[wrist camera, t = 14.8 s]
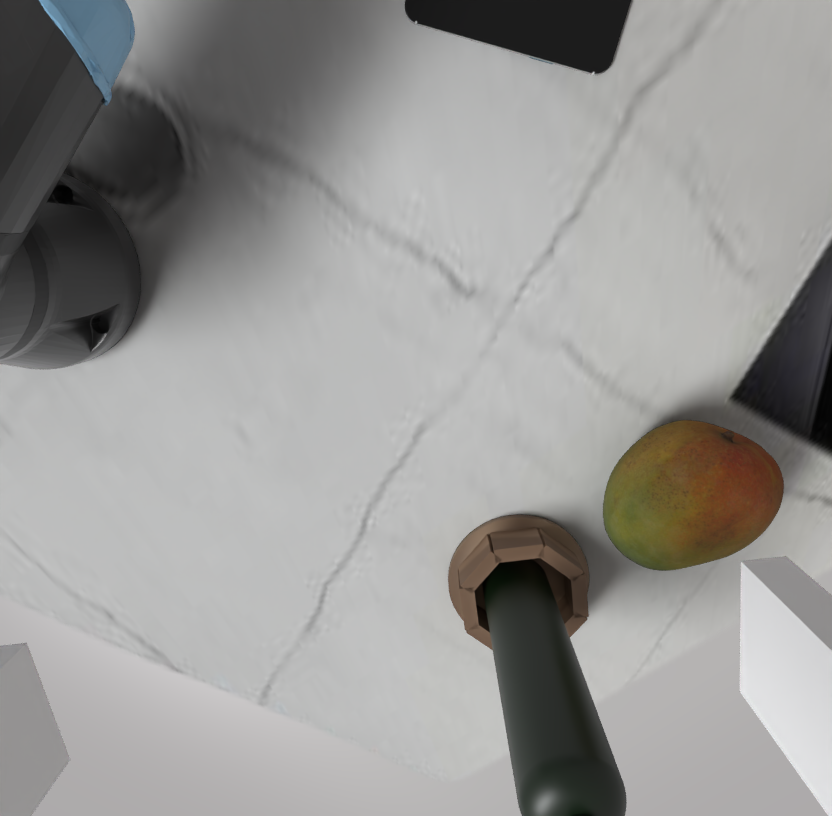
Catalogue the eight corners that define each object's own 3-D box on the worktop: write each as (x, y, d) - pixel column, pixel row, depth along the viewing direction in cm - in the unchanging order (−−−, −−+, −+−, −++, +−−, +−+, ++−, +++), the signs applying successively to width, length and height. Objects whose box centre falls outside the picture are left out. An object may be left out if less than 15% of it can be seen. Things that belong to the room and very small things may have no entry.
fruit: (757, 431, 47) (842, 477, 38) (691, 559, 51) (753, 631, 41) (627, 387, 47) (680, 423, 37) (569, 520, 50) (603, 585, 40)
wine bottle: (525, 623, 52) (650, 1097, 23) (470, 594, 51) (527, 1046, 22) (560, 573, 50) (741, 1012, 21) (504, 544, 50) (613, 955, 21)
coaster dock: (457, 643, 53) (459, 672, 50) (439, 523, 50) (440, 545, 46) (591, 629, 53) (603, 657, 49) (582, 506, 49) (594, 526, 46)
